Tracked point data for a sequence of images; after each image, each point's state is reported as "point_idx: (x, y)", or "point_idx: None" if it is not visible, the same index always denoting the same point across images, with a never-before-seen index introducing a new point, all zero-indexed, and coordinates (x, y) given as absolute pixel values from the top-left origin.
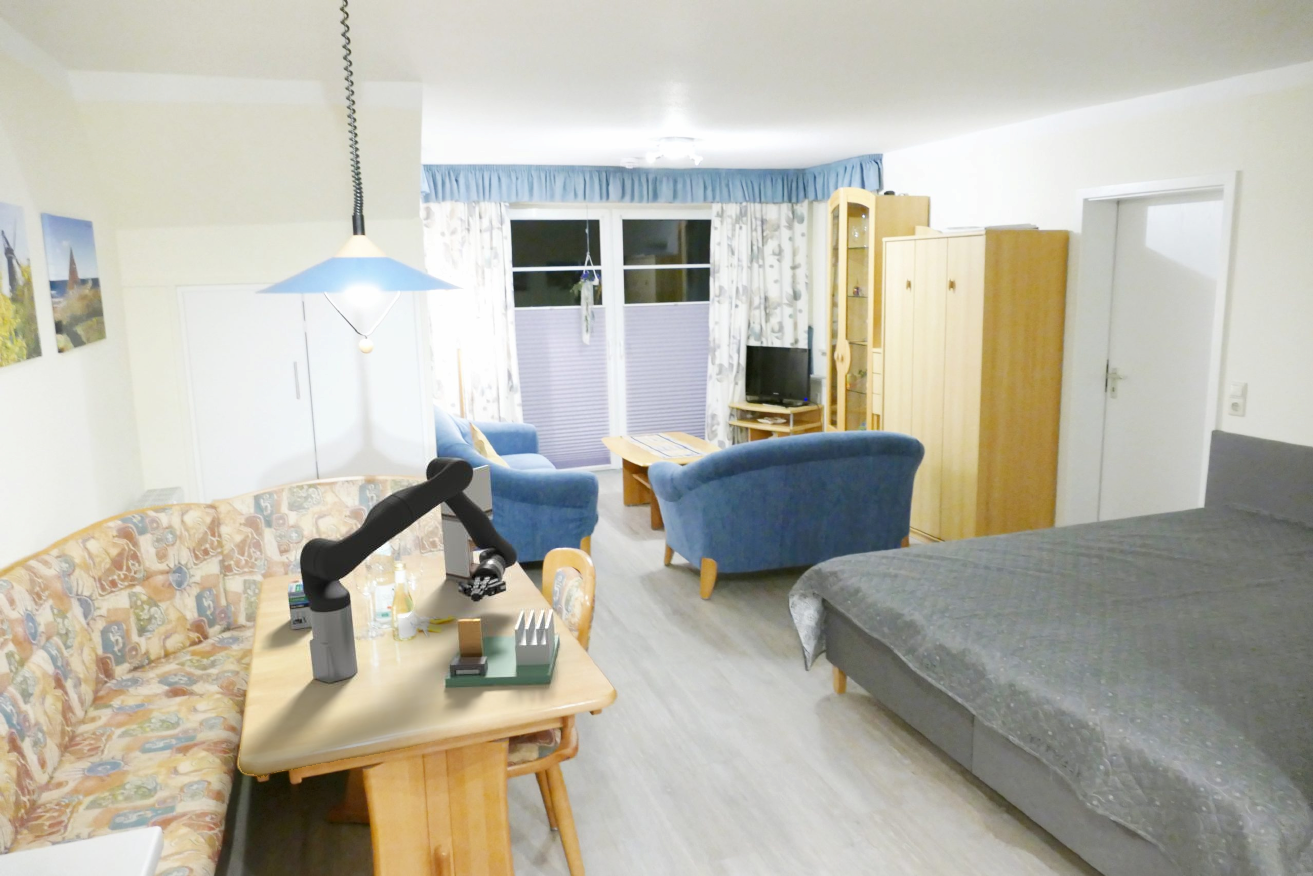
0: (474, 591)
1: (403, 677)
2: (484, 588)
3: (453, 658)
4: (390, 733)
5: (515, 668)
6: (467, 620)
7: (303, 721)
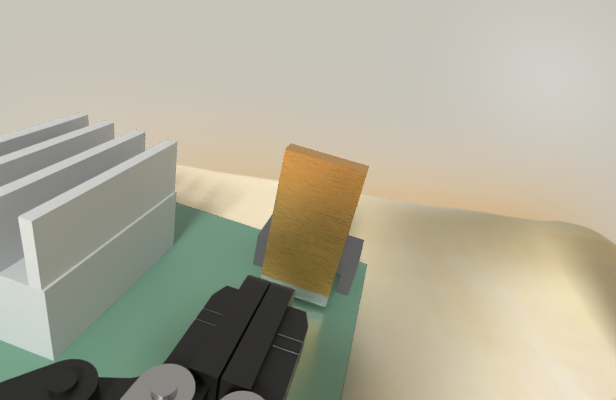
0: (275, 320)
1: (496, 378)
2: (142, 381)
3: (355, 263)
4: (430, 207)
5: (183, 235)
6: (333, 158)
7: (608, 285)
